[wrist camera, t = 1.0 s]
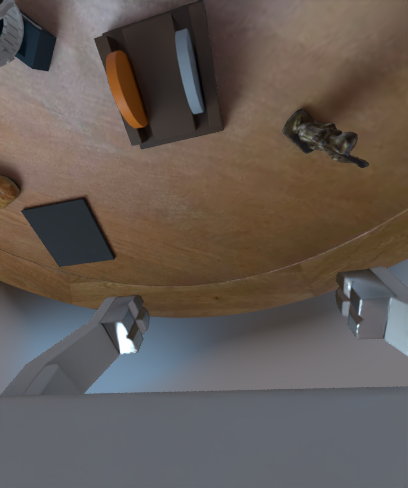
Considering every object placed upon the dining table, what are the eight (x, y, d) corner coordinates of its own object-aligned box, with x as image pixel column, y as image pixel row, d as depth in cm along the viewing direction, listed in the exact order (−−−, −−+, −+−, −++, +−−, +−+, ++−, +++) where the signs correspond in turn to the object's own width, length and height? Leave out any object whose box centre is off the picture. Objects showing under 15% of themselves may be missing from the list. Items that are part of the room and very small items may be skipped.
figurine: (334, 140, 33) (399, 164, 21) (313, 161, 35) (360, 196, 23) (300, 105, 32) (348, 109, 19) (279, 129, 33) (310, 148, 21)
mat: (23, 209, 45) (20, 211, 44) (84, 197, 42) (82, 199, 42) (60, 265, 52) (59, 266, 52) (115, 257, 49) (114, 259, 49)
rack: (105, 35, 29) (89, 27, 26) (204, 1, 27) (200, -13, 24) (142, 148, 37) (134, 153, 33) (223, 129, 34) (223, 133, 31)
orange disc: (125, 58, 30) (95, 46, 23) (133, 56, 30) (105, 43, 23) (146, 125, 34) (125, 131, 27) (153, 123, 34) (134, 129, 27)
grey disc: (183, 40, 28) (169, 22, 22) (192, 37, 28) (181, 17, 21) (197, 112, 32) (189, 116, 26) (206, 110, 32) (200, 113, 25)
